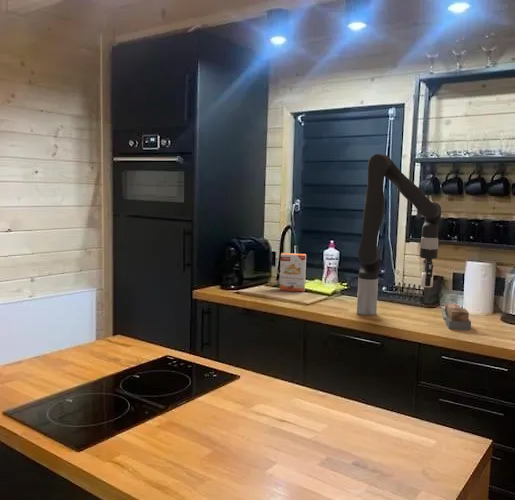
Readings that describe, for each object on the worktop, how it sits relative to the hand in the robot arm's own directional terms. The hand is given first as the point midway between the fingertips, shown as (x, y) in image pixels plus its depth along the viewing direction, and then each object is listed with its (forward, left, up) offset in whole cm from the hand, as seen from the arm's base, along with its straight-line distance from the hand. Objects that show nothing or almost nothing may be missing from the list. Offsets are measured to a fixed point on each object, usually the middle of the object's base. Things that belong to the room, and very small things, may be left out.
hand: (426, 284), depth 249 cm
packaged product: (+15, +15, -18) cm, 28 cm away
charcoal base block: (+14, -4, -18) cm, 23 cm away
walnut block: (+14, -4, -14) cm, 20 cm away
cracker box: (-66, +52, -18) cm, 86 cm away
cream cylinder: (0, 0, -1) cm, 1 cm away
